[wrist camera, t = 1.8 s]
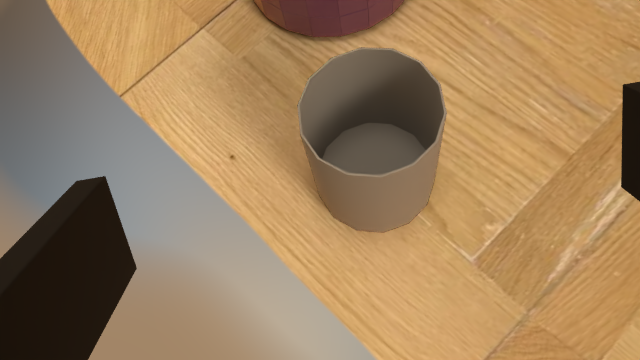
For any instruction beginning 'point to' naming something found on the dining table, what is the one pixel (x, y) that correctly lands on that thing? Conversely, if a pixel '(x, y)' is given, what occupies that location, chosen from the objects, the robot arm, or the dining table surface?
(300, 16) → the plum bowl
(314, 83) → the cup
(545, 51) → the dining table surface
